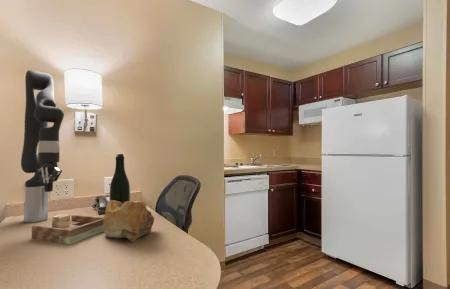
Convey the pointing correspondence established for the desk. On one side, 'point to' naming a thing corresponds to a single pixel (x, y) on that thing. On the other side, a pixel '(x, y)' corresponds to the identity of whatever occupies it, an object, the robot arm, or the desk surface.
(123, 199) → the dark green wine bottle
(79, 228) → the tray
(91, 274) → the desk surface
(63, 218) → the birch block
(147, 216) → the rough brown rock
